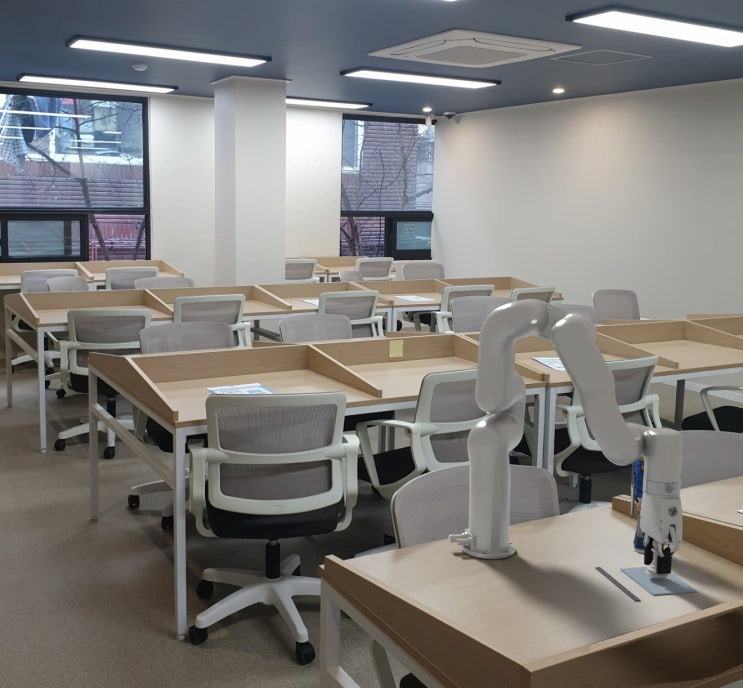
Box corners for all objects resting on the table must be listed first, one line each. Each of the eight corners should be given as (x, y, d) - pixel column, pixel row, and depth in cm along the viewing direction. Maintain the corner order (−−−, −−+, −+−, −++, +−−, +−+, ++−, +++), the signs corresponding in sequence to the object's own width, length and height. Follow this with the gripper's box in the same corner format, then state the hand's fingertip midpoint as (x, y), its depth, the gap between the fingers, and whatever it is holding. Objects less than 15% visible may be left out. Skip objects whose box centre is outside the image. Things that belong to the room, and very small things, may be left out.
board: (635, 601, 174) (635, 600, 174) (595, 568, 191) (595, 566, 191) (702, 595, 177) (702, 594, 177) (656, 563, 194) (656, 562, 194)
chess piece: (642, 570, 187) (644, 534, 186) (663, 569, 187) (665, 534, 186) (650, 578, 182) (652, 542, 181) (672, 578, 182) (674, 542, 181)
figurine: (656, 558, 198) (662, 431, 194) (629, 556, 199) (635, 430, 195) (651, 542, 208) (657, 421, 204) (625, 540, 209) (631, 420, 205)
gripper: (700, 497, 175) (695, 583, 177) (656, 475, 191) (652, 553, 193) (666, 499, 173) (661, 585, 175) (626, 476, 189) (622, 555, 192)
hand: (657, 568), depth 184 cm, fingers closed on chess piece, 4 cm apart
